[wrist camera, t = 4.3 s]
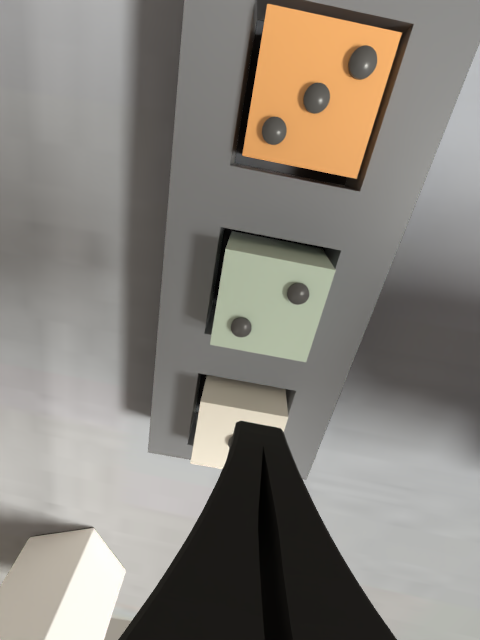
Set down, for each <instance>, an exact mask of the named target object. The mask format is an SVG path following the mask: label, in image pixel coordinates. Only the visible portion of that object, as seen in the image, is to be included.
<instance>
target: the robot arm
mask: <svg viewBox="0 0 480 640" xmlns="http://www.w3.org/2000/svg"><path fill="white" fill-rule="evenodd" d="M119 640H397V639H396V638H395V636H394V635H393V633H392V632H391V631H390V629H389V628H388V626H387V625H386V624H385V622H384V621H383V619H382V618H381V617H380V615H379V614H378V612H377V611H376V609H375V608H374V606H373V605H372V603H371V602H370V600H369V599H368V597H367V596H366V594H365V593H364V591H363V589H362V588H361V586H360V585H359V583H358V582H357V580H356V579H355V577H354V575H353V574H352V572H351V570H350V569H349V567H348V565H347V564H346V562H345V561H344V559H343V557H342V555H341V554H340V552H339V550H338V549H337V547H336V545H335V543H334V541H333V540H332V538H331V536H330V534H329V532H328V530H327V529H326V527H325V525H324V523H323V521H322V519H321V517H320V515H319V513H318V511H317V509H316V507H315V505H314V503H313V501H312V499H311V497H310V495H309V493H308V490H307V488H306V486H305V484H304V482H303V480H302V477H301V475H300V473H299V471H298V468H297V466H296V463H295V461H294V459H293V456H292V454H291V451H290V448H289V446H288V443H287V440H286V438H285V435H284V432H283V430H282V429H281V428H277V427H272V426H267V425H261V424H256V423H251V422H246V421H239V422H236V425H235V428H234V432H233V436H232V440H231V444H230V448H229V452H228V456H227V460H226V462H225V465H224V467H223V470H222V472H221V474H220V477H219V479H218V481H217V483H216V485H215V487H214V489H213V491H212V493H211V495H210V497H209V499H208V501H207V503H206V505H205V507H204V509H203V511H202V513H201V515H200V516H199V518H198V520H197V522H196V524H195V525H194V527H193V529H192V531H191V532H190V534H189V536H188V537H187V539H186V541H185V542H184V544H183V546H182V547H181V549H180V551H179V552H178V554H177V555H176V557H175V558H174V560H173V562H172V563H171V565H170V566H169V568H168V569H167V571H166V573H165V574H164V576H163V577H162V579H161V580H160V582H159V583H158V585H157V586H156V588H155V589H154V590H153V592H152V593H151V595H150V596H149V598H148V599H147V600H146V602H145V603H144V605H143V606H142V607H141V609H140V610H139V612H138V613H137V614H136V616H135V617H134V619H133V620H132V621H131V623H130V624H129V626H128V627H127V629H126V630H125V632H124V633H123V634H122V635H121V637H120V638H119Z"/></svg>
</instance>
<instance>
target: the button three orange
mask: <svg viewBox="0 0 480 640" xmlns="http://www.w3.org/2000/svg"><path fill="white" fill-rule="evenodd" d="M401 35H402V33H401V32H397V31H392V30H387V29H383V28H378V27H374V26H369V25H364V24H360V23H355V22H350V21H346V20H341V19H337V18H332V17H327V16H323V15H318V14H314V13H309V12H304V11H300V10H295V9H290V8H286V7H281V6H277V5H272V4H267V9H266V15H265V21H264V27H263V33H262V39H261V45H260V51H259V57H258V63H257V69H256V75H255V81H254V87H253V93H252V99H251V106H250V112H249V118H248V124H247V130H246V136H245V142H244V148H243V154H242V156H246V157H251V158H256V159H261V160H266V161H271V162H276V163H281V164H286V165H290V166H295V167H300V168H305V169H310V170H315V171H320V172H325V173H330V174H335V175H340V176H345V177H350V178H355V179H357V176H358V173H359V170H360V166H361V163H362V160H363V157H364V153H365V150H366V147H367V144H368V141H369V137H370V134H371V131H372V128H373V125H374V121H375V118H376V115H377V112H378V108H379V105H380V102H381V99H382V96H383V92H384V89H385V86H386V83H387V80H388V76H389V73H390V70H391V67H392V64H393V60H394V57H395V54H396V51H397V47H398V44H399V41H400V38H401Z"/></svg>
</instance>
